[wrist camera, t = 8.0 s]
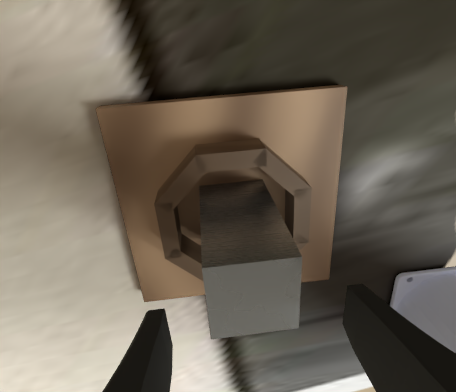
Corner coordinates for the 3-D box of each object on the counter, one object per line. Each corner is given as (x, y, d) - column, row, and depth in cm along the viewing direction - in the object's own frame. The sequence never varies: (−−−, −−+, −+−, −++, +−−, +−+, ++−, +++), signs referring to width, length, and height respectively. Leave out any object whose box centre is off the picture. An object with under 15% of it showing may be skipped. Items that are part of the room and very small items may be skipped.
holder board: (339, 84, 18) (364, 91, 16) (324, 270, 25) (340, 298, 22) (100, 105, 18) (83, 116, 15) (146, 292, 24) (140, 323, 21)
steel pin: (262, 179, 19) (302, 256, 12) (263, 233, 21) (298, 328, 14) (199, 185, 19) (201, 268, 12) (205, 239, 21) (210, 339, 14)
